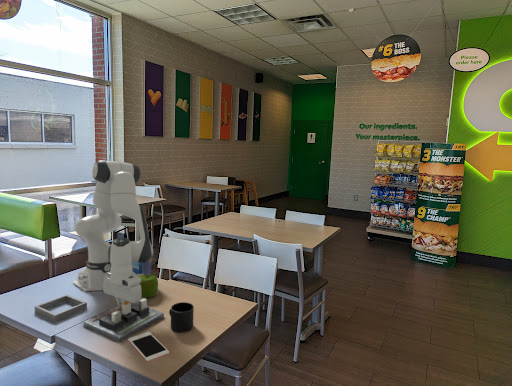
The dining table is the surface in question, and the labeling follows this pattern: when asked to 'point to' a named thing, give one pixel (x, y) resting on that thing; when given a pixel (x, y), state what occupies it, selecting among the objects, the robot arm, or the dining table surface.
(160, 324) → the dining table surface
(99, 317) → the panel
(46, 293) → the dining table surface
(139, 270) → the beverage box
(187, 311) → the mug
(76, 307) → the deck corral
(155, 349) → the cell phone
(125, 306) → the block
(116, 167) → the robot arm
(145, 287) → the apple
